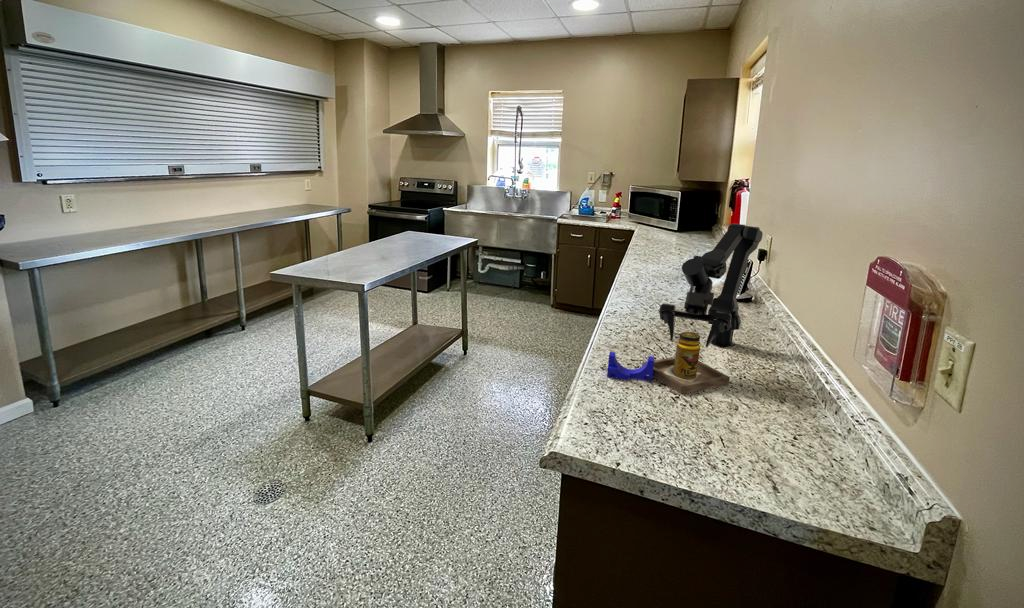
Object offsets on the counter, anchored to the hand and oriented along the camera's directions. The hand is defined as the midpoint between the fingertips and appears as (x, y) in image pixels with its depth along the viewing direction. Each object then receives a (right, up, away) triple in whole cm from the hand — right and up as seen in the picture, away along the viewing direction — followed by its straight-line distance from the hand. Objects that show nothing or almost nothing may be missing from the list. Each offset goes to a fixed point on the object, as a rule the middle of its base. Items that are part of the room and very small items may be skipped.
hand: (688, 343), depth 137 cm
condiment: (-1, -9, +3) cm, 9 cm away
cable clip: (-16, -10, +2) cm, 19 cm away
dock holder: (-1, -9, +2) cm, 10 cm away
